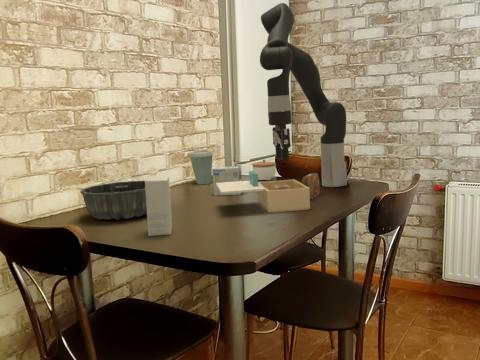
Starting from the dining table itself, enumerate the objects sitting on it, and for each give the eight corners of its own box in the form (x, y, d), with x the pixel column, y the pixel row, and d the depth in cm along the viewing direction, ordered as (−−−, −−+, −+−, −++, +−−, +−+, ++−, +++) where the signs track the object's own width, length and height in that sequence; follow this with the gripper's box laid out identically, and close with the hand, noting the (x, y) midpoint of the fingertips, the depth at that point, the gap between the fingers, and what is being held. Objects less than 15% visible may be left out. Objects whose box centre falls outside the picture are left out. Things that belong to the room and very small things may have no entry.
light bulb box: (242, 191, 195) (241, 165, 193) (240, 195, 188) (239, 167, 186) (216, 192, 196) (214, 166, 194) (213, 196, 189) (211, 168, 188)
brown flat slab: (309, 201, 169) (308, 177, 167) (300, 201, 170) (299, 177, 169) (321, 193, 182) (320, 171, 181) (313, 193, 183) (312, 171, 182)
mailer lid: (254, 181, 171) (253, 168, 171) (264, 190, 153) (263, 176, 152) (216, 184, 169) (215, 171, 169) (221, 193, 151) (220, 179, 150)
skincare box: (151, 229, 142) (146, 176, 139) (173, 227, 142) (169, 174, 140) (148, 236, 133) (143, 180, 131) (172, 234, 134) (167, 178, 132)
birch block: (287, 201, 166) (286, 184, 166) (290, 204, 162) (289, 186, 161) (274, 203, 166) (273, 185, 165) (277, 205, 161) (276, 187, 161)
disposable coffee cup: (214, 184, 217) (211, 151, 215) (189, 185, 217) (187, 152, 215) (215, 181, 227) (213, 149, 225) (192, 182, 228) (190, 150, 225)
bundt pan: (81, 213, 171) (78, 185, 170) (155, 203, 180) (153, 177, 179) (85, 229, 147) (82, 196, 145) (171, 217, 156) (169, 186, 154)
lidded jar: (251, 182, 218) (250, 161, 216) (254, 178, 228) (253, 158, 227) (275, 181, 216) (274, 160, 214) (277, 177, 226) (276, 157, 225)
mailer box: (295, 198, 174) (294, 179, 173) (310, 209, 156) (309, 187, 154) (257, 201, 172) (256, 182, 171) (268, 213, 154) (267, 191, 153)
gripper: (263, 110, 165) (266, 158, 168) (273, 110, 151) (276, 162, 154) (285, 109, 166) (288, 156, 169) (296, 109, 152) (299, 160, 155)
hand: (282, 159), depth 161 cm, fingers open, 8 cm apart
